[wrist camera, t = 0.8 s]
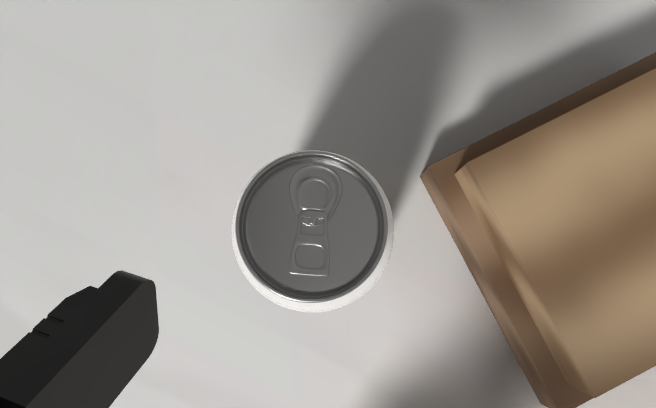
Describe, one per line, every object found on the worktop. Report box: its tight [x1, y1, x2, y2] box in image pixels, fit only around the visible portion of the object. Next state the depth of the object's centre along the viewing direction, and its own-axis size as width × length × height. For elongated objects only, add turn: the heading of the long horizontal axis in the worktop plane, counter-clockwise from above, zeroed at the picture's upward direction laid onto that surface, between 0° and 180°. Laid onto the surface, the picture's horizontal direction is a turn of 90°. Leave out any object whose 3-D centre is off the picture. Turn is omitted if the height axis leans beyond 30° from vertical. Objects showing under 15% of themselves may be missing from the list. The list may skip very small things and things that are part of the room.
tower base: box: [420, 53, 656, 408], centre depth 31 cm, size 14×14×6 cm
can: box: [232, 150, 394, 312], centre depth 28 cm, size 6×6×12 cm
